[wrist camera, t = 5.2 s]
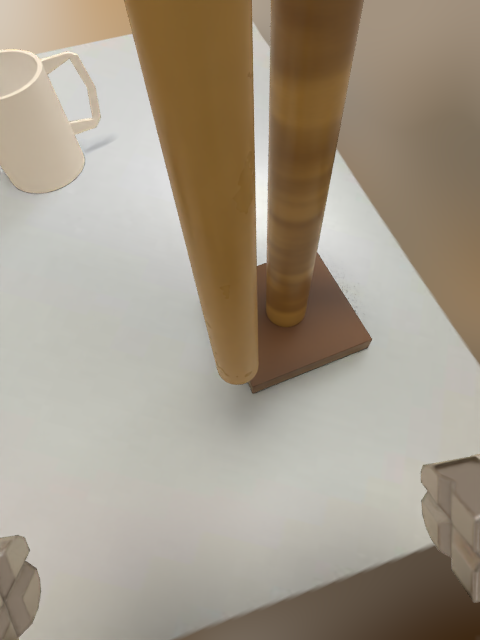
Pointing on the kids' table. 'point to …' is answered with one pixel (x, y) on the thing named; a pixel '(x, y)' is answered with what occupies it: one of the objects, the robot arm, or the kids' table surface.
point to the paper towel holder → (304, 191)
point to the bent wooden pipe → (209, 156)
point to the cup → (39, 122)
